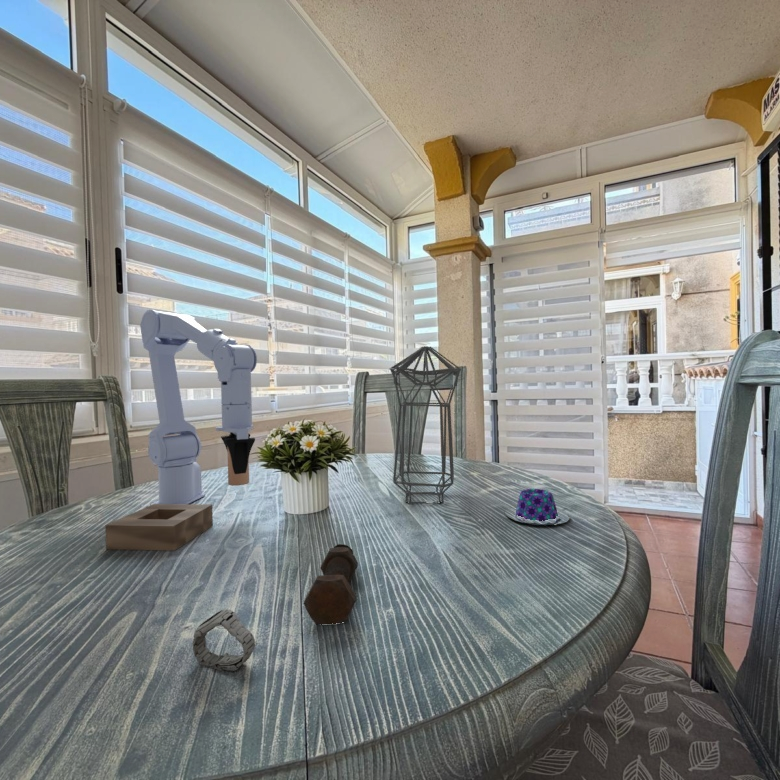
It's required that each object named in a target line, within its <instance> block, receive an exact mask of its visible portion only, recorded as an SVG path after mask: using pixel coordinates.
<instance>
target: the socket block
mask: <svg viewBox="0 0 780 780" xmlns="http://www.w3.org/2000/svg"><path fill="white" fill-rule="evenodd" d="M213 521H214V520H213V504H191V503H189V504H153V505H150V504H149V505H148V506H146V507H144V508H142V509H140V510H137V511H135V512H132V513H130V514H128V515H125V516H123V517H121V518H119V519H116V520H114V521H112V522H110V523H107V524H105V525H104V527H105V528H104V529H105V531H104V532H105V550H120V551H121V550H123V551H124V550H131V551H174V552H175V551H176V550H177V549H179V548H181V547H182V546H184V545H185V544H186V543H188V542H190V541H192V540H193V539H195V538H196V537H197V536H199V535H200V534H202V533H204V532H205V531H206V530H208V529H209V528H212V527H213V525H214V523H213Z"/></svg>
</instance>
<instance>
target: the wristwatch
mask: <svg viewBox="0 0 780 780" xmlns="http://www.w3.org/2000/svg"><path fill="white" fill-rule="evenodd" d="M218 626H221V627H223V628H224V629H225V630H226V631H228V633H229V635H231V636H232V637H234V638H235V639H236V641H237V642H238V643H239V644H240V645H241V646H242V651H243V653H242V654H238V655H232V654H231V655H230V654H229V653H227V652H225V653H224V654H222V655H221V654H220V655H218V654H216V653H214V652H212V651H210V649H209V647H208V646H207V640H206V636H207V635H208V633H209V632H211V631H212V630H214V629H215V628H216V627H218ZM255 648H256V641H255V638H254V634H253V633H252V632H251V630H249V629H248V628H247V627H246V626H245V625H244V624H243V622H242V621H241V620H240V618H239V617H238V615H237V613H236V612H234V611H233V610H232V609H227V608H224V609H221V610H220V611H218V612H216V613H215V614H213V615H212V616H210V617H209V618H207V619H206V620H204V621H203V622H202V623H200V624H199V626H198V627H196V629H195V630H194V634H193V640H192V651H193V654H194V657H195V659H196V661H197V662H198V664H199V665H200V666H202V667H206V668H211V669H215V670H217V671H219V670H220V671H221V672H225V671H226V672H236V671H237V670H239V668H241V666H242V665H243V664H245V663H247V661H248V660H249V659H250V657H251V655H252V654H253V652H254V651H255Z"/></svg>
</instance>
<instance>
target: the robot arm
mask: <svg viewBox="0 0 780 780" xmlns="http://www.w3.org/2000/svg"><path fill="white" fill-rule="evenodd" d="M139 327H140V332H141V339H142V343H143V349H145V350H146V351H147V352H148V355H149V356H148V359H149V363H150V370H151V375H152V376H151V377H152V381H153V388H154V389H153V390H154V395H155V401H156V407H157V414H158V421H159V423H158V425H157V426H155V427H154V428H153V429H152V430H151V431H150V432H149V433H148V448H147V453H148V458H149V460H150V461H151V463H153V465H154V466H155V467H157V469H158V470H157V476H158V477H157V479H158V500H157V501H154V502H153V503H150V504H149V506H150V505H153V504H191V503H193V502H195V501H197V500H199V499H201V498H203V497H206V493H202V492H203V488H202V469H201V466H200V465H199V463H198V462H197V459H198V457H199V456H200V455H201V453H202V452H201V451H202V442H201V439H200V437H199V436H198V434H197V433H198V432H197V429H196V427H195V426H194V425H193V424H191V423H190V422H188V421H187V420H186V419H185V416H184V415H185V414H184V409H183V403H182V396H181V391H180V390H181V389H180V384H179V379H178V373H177V366H176V365H177V364H176V359H175V355H176V354H177V353H179V352H181V351H183V350H184V349H185V347H186V346H187V344H189V342H190V341H191V342H193V343H195V344H196V347H197V349H198V351H199V353H201V354H202V355H204V357H207V358H208V359H210V360H211V361H212V362H213V365H214V368H215V371H216V373H217V379H218V381H219V382H220V391H221V392H220V393H221V395H220V397H221V400H220V402H221V426H215V431H217V432H225V433H229V434H228V435H222V436H220V439H221V440H222V442H223V443H224V446H225V449H226V450H227V447H228V449H229V452H230V456H231V461H232V466H233V470H234V473H235V474H241V473H246V470H247V465H248V459H249V458H250V453H251V450H252V448H253V445H254V444H255V441H256V438H255V437H251V434H250V433H249V432H251V431H252V430H254V424H253V408H252V407H253V406H252V401H253V399H252V372H253V371H254V370H255V369H256V366H257V362H258V359H257V358H258V356H257V353H256V351H255V349H254V348H253V347H252V346H251V345H250V344H242V345H241V344H238V343H237V342H236V341H237V340H236V339H234V338H229V337H227V335H224V334H223V333H224V331H223V330H221V329H220V328H213V329H206V328H204V326H202V325H201V324H200V323H198V322H197V321H196V318H195V316H191V315H190V314H186V313H185V314H184V313H175V312H168V311H167V312H166V311H160V310H155V309H152V308H151V309H147V310H146V311H145V312H144V313H143V315H142V318H141V321H140V324H139ZM249 460H250V459H249Z"/></svg>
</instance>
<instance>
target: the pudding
mask: <svg viewBox="0 0 780 780" xmlns="http://www.w3.org/2000/svg"><path fill="white" fill-rule="evenodd" d="M555 502H556V501H555V498H554V495H553V493H551V491H548V490H546V489H541V488H540V489H539V488H526V489H522V490H521V491H520V493H519V496H518V501H517V505H516V507H517V508H516V515H518V516H521V517H524V518H525V519H530V520H539V521H542V520H543V521H545V520H548V519H555V518H556V516H558V512H557V510H558V508H557V506H556V503H555Z"/></svg>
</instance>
